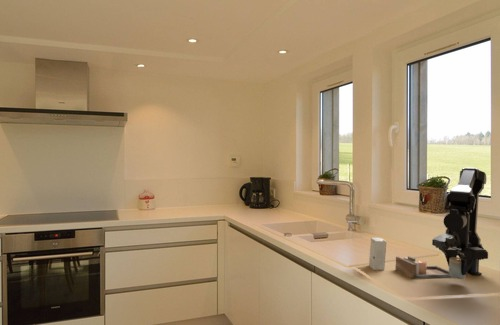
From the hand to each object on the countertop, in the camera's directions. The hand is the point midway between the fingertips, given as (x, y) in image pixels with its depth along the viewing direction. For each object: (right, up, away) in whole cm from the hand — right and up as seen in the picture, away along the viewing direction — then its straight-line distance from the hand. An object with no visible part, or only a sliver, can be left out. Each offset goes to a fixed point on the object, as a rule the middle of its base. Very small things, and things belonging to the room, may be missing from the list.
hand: (457, 272), depth 121 cm
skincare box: (-22, -4, +16) cm, 27 cm away
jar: (-8, -4, +11) cm, 14 cm away
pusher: (-11, -3, +10) cm, 15 cm away
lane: (-6, -5, +11) cm, 13 cm away
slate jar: (0, -1, 0) cm, 1 cm away
